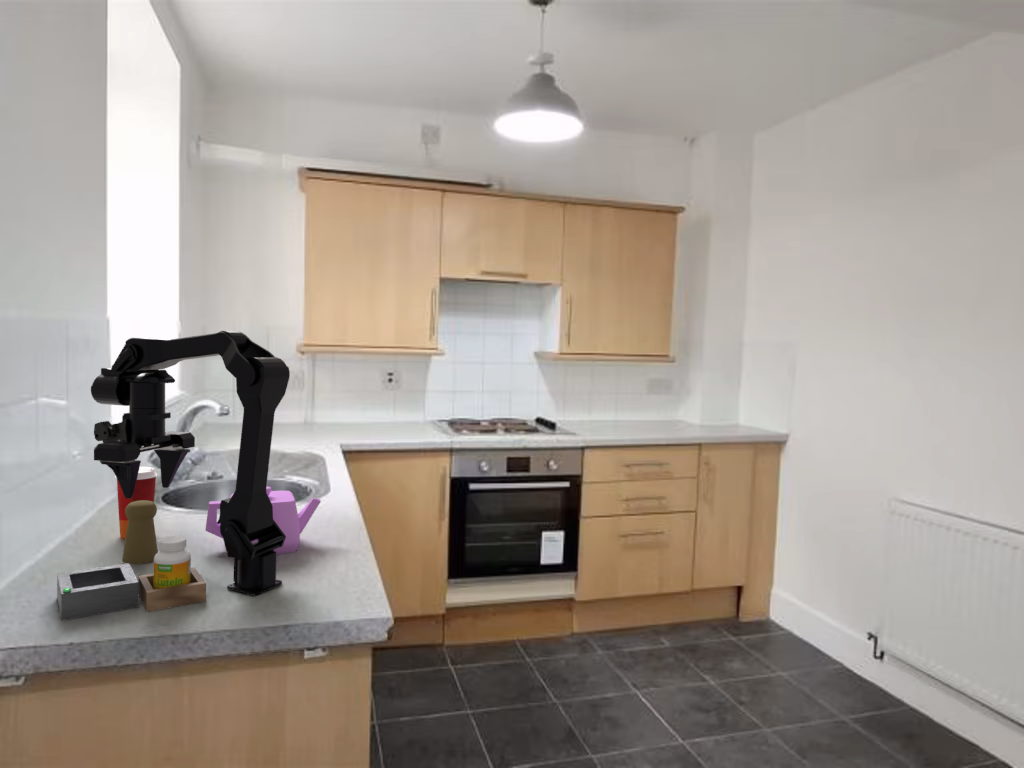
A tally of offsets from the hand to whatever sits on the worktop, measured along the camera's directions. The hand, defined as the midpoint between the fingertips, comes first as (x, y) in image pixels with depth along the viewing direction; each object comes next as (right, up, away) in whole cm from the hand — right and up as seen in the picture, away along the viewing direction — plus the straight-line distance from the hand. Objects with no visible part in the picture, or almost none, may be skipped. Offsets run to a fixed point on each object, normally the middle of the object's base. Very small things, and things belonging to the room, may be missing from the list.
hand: (147, 492), depth 121 cm
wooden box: (+11, -15, -13) cm, 22 cm away
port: (+1, -15, -16) cm, 22 cm away
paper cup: (-12, -12, +17) cm, 25 cm away
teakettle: (+15, -14, +16) cm, 26 cm away
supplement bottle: (+11, -15, -13) cm, 23 cm away
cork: (-4, -13, +4) cm, 14 cm away
